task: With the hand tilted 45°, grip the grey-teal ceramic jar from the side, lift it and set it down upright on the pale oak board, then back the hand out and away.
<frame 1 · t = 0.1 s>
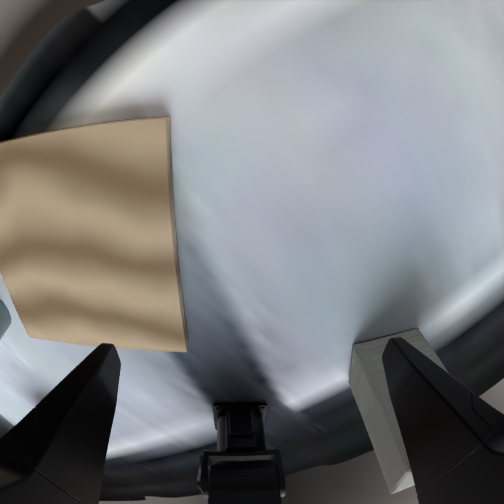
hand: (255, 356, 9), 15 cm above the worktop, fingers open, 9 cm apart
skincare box: (384, 350, 32), on the worktop
oak board: (75, 248, 23), on the worktop
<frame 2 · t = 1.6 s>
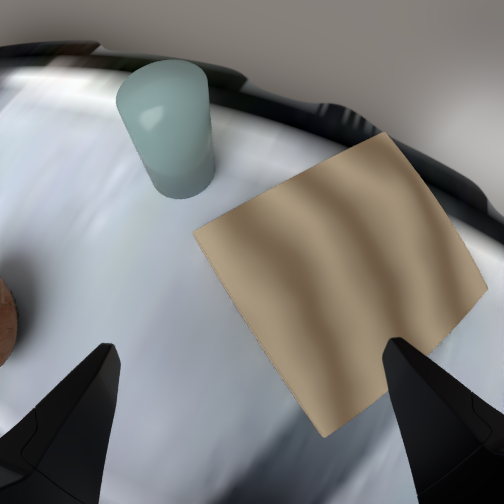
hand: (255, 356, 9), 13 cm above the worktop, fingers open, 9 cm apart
onion: (3, 322, 21), on the worktop
oak board: (361, 269, 24), on the worktop
ceramic jar: (182, 169, 26), on the worktop
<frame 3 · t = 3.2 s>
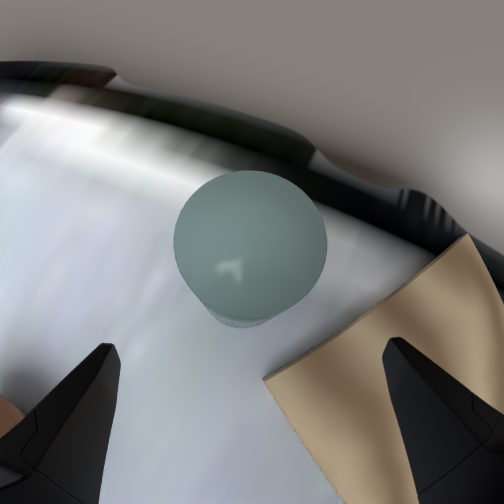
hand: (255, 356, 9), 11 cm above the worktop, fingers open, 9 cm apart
onion: (26, 440, 16), on the worktop
oak board: (431, 396, 19), on the worktop
ceramic jar: (242, 286, 21), on the worktop
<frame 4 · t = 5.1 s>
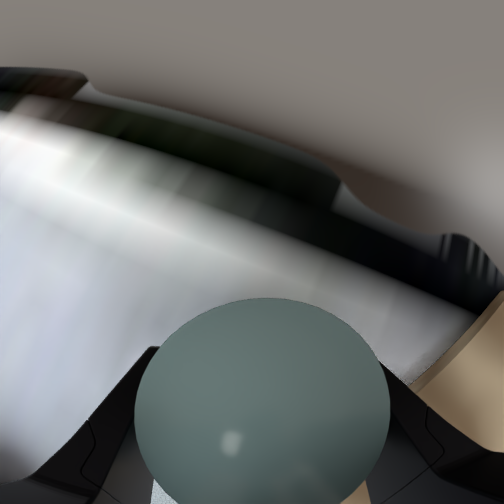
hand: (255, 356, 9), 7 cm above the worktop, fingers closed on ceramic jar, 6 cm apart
oak board: (456, 471, 14), on the worktop
ceramic jar: (246, 375, 15), on the worktop, touching gripper
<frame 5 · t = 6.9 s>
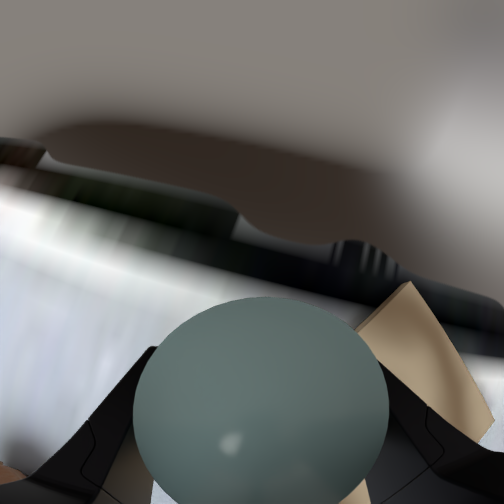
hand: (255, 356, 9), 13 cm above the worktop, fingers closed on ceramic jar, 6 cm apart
onion: (33, 494, 17), on the worktop
oak board: (375, 441, 21), on the worktop
ceramic jar: (246, 374, 15), point 7 cm above the worktop, touching gripper
when the fingers open (9 cm above the worktop, at t = 9.1 s): ceramic jar drops 1 cm, resting on oak board.
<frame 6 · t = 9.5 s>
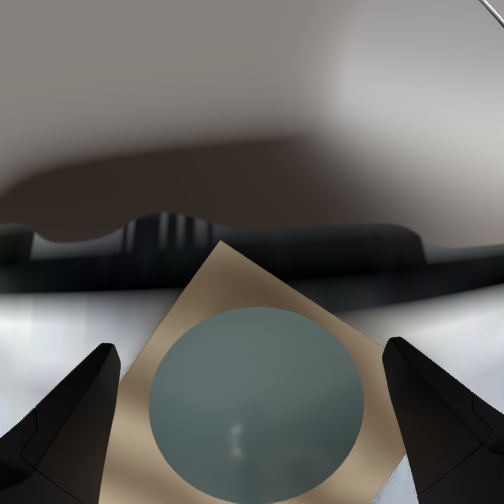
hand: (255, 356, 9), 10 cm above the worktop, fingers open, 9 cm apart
oak board: (251, 453, 17), on the worktop
ceramic jar: (245, 373, 17), point 2 cm above the worktop, touching oak board
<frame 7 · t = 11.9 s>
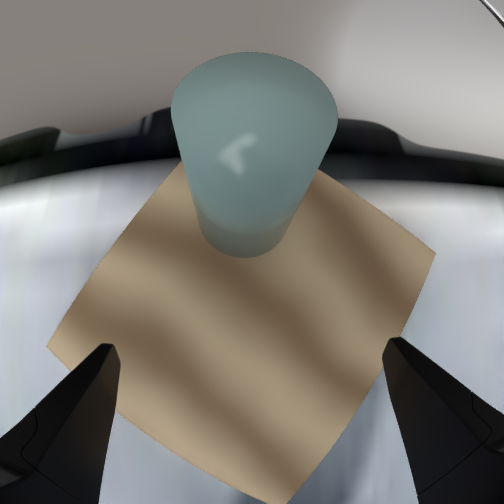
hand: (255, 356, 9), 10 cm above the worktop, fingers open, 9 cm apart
oak board: (248, 308, 19), on the worktop
ceramic jar: (243, 213, 19), point 2 cm above the worktop, touching oak board
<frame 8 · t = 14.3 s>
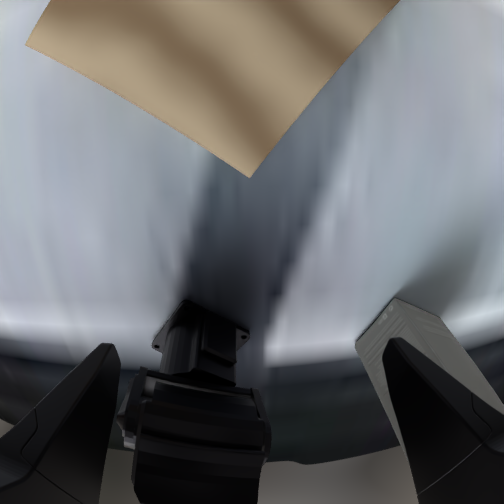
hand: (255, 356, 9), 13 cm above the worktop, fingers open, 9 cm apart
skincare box: (402, 326, 28), on the worktop
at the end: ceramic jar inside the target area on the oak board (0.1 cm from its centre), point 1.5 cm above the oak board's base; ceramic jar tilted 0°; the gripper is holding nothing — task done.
